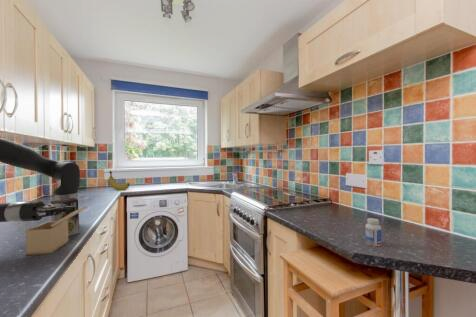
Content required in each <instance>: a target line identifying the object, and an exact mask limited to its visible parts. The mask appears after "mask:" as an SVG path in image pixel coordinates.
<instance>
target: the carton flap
mask: <svg viewBox="0 0 476 317" xmlns="http://www.w3.org/2000/svg"><path fill="white" fill-rule="evenodd" d="M87 208H88V206H87V205H85V206H82V207H80V208H78V210H76V211H74V212H72V213H70V214H69V215H67V216H65V217H64V218H62V219H60V220H59V221H57V222H55V223H54V224H52V225H51V227H53V226H55V225H57V224H59V223H61V222H63V221H65V220H67V219H69V218H71V217H72V216H74V215H76V214H77V213H79V214H80V213H81V212H83V211H84V210H85V209H87Z"/></svg>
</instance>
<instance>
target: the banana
mask: <svg viewBox="0 0 476 317" xmlns="http://www.w3.org/2000/svg"><path fill="white" fill-rule="evenodd" d="M108 173H109V174H110V176H109V177H108V180H107V181H108V185H109V186H110V187H111V188H112V189H114V190H116V191H124V190H127V189H129V187H130V182H129V183H128V182H127V183H123V184H121V183H118V181H117V180H116V179H115V178H114V177H113V172H112V171H111V170H109V172H108Z"/></svg>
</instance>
